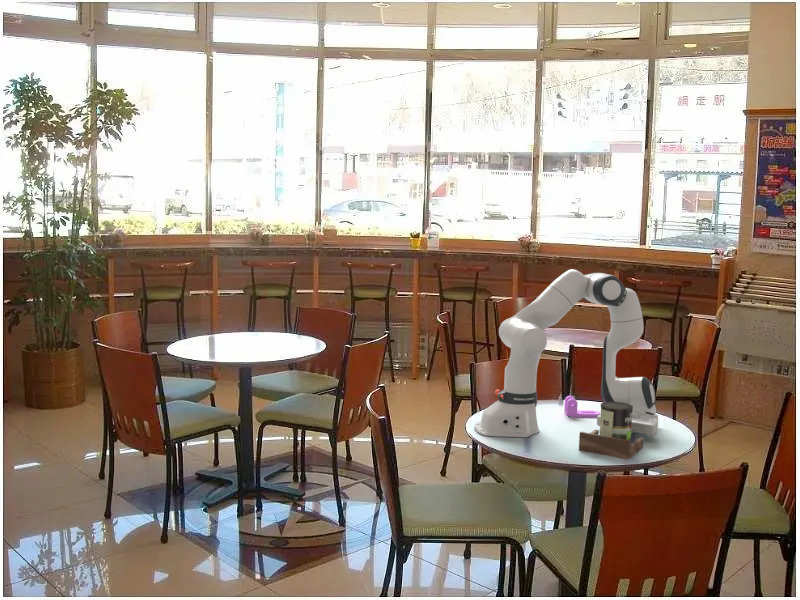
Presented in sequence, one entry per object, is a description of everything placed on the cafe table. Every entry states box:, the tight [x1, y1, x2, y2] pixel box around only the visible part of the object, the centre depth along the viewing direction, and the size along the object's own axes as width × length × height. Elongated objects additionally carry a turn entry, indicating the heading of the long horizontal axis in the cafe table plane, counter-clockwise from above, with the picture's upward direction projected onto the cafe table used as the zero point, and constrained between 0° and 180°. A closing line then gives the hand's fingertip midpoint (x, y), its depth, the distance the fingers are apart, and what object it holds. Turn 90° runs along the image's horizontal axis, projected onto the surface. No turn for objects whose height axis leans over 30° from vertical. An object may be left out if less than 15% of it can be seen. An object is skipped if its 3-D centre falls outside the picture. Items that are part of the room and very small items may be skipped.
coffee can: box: [599, 401, 633, 440], centre depth 274 cm, size 10×10×14 cm
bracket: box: [563, 395, 601, 418], centre depth 313 cm, size 13×6×7 cm, turn 89°
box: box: [578, 429, 644, 461], centre depth 272 cm, size 15×16×6 cm
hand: (620, 428), depth 278 cm, fingers closed, pressing on coffee can
